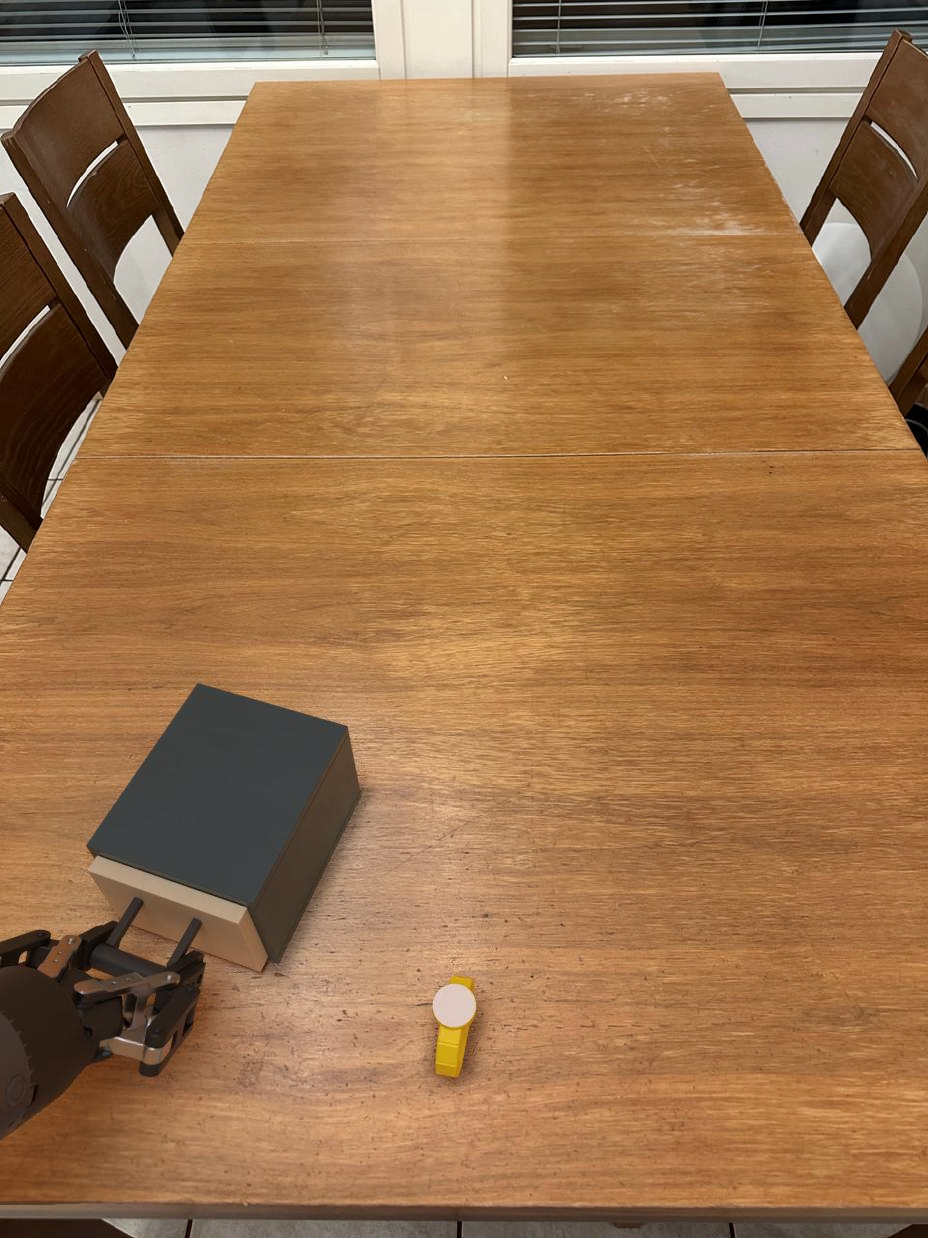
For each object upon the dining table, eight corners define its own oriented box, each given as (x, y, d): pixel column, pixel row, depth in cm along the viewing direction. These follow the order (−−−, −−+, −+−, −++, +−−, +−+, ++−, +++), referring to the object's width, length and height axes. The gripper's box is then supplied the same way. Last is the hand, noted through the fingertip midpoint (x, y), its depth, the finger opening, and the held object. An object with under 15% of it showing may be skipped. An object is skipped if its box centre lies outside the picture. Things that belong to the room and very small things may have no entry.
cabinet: (278, 964, 67) (252, 903, 60) (126, 909, 70) (85, 845, 63) (361, 795, 76) (348, 725, 69) (224, 753, 79) (197, 682, 72)
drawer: (225, 1043, 63) (197, 999, 57) (80, 986, 65) (40, 939, 60) (341, 811, 74) (328, 755, 68) (214, 771, 77) (191, 714, 71)
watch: (468, 1091, 61) (466, 1062, 57) (426, 1083, 62) (421, 1053, 57) (484, 999, 65) (484, 965, 61) (445, 992, 65) (442, 957, 61)
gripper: (-167, 1093, 48) (55, 968, 65) (69, 1202, 45) (241, 1040, 61) (-142, 955, 48) (76, 864, 64) (100, 1054, 44) (265, 930, 61)
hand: (156, 950), depth 63 cm, fingers closed on drawer, 5 cm apart
